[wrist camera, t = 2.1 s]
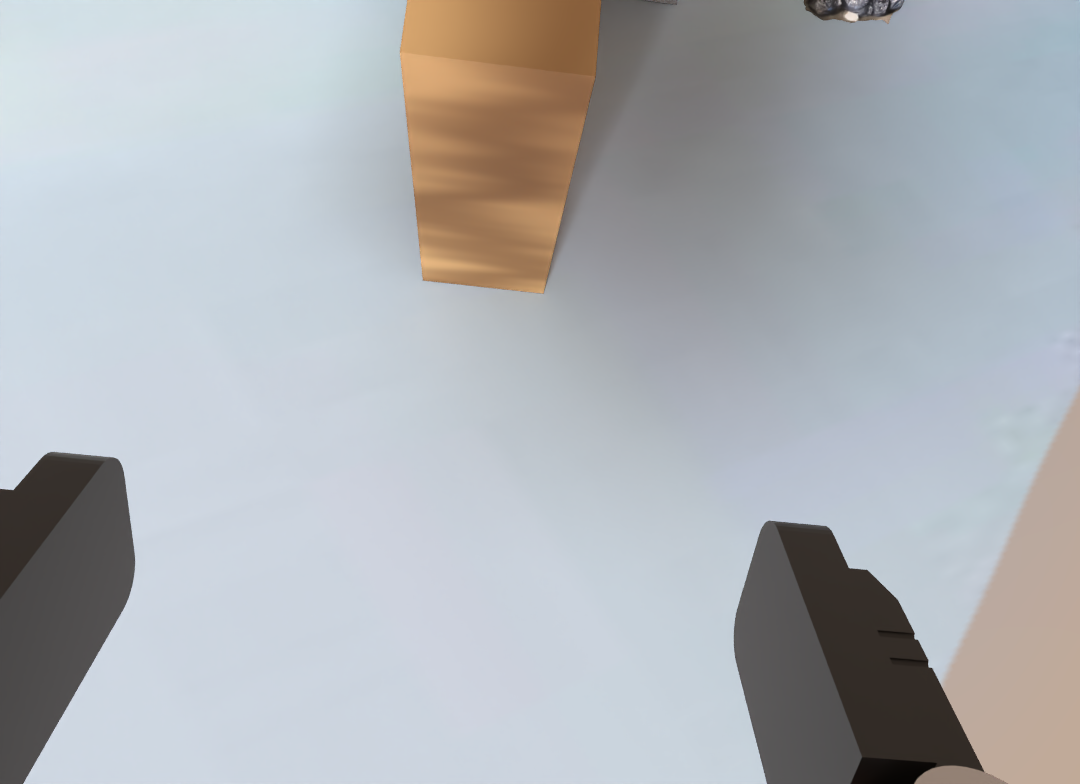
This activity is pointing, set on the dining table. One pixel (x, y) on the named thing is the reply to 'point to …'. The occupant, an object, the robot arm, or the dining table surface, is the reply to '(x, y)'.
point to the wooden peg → (495, 131)
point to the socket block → (664, 1)
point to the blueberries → (853, 9)
